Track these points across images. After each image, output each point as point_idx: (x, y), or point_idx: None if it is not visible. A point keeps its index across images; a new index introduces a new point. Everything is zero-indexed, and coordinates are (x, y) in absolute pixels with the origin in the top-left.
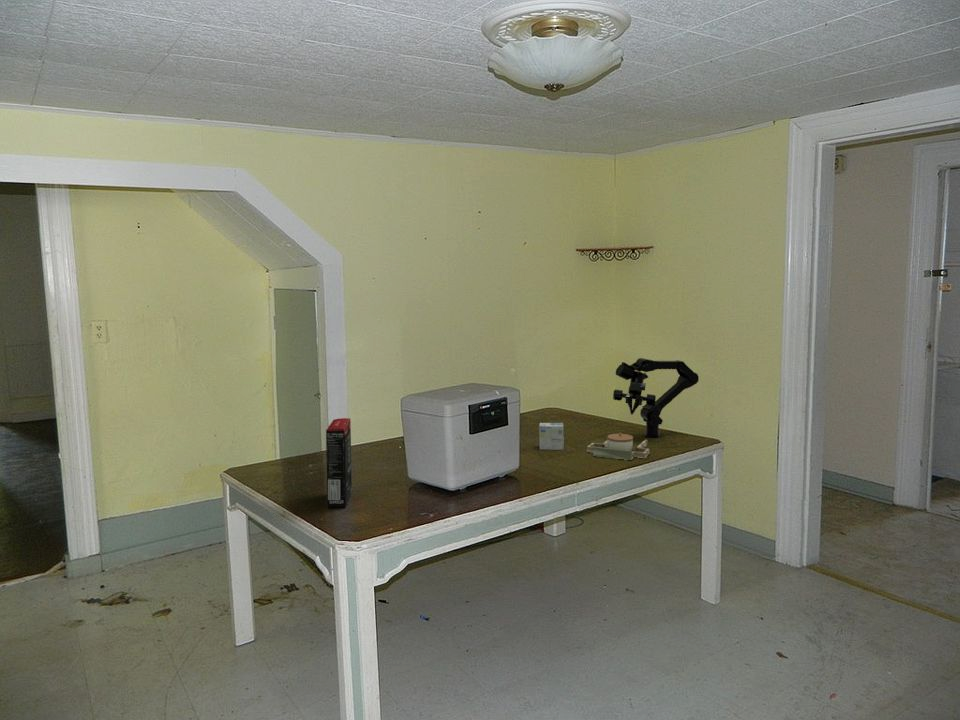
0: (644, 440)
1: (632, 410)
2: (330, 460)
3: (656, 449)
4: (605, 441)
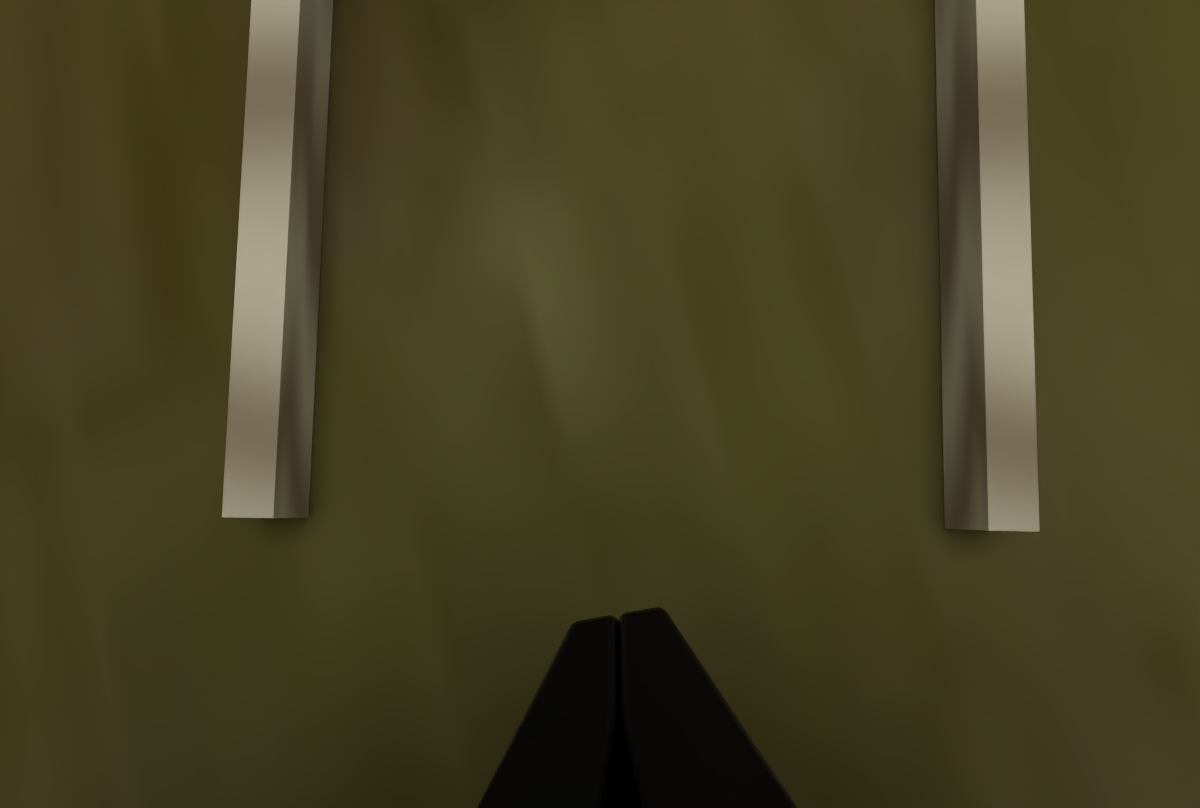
0: (270, 417)
1: (600, 714)
2: None
3: (40, 268)
4: (1021, 8)
